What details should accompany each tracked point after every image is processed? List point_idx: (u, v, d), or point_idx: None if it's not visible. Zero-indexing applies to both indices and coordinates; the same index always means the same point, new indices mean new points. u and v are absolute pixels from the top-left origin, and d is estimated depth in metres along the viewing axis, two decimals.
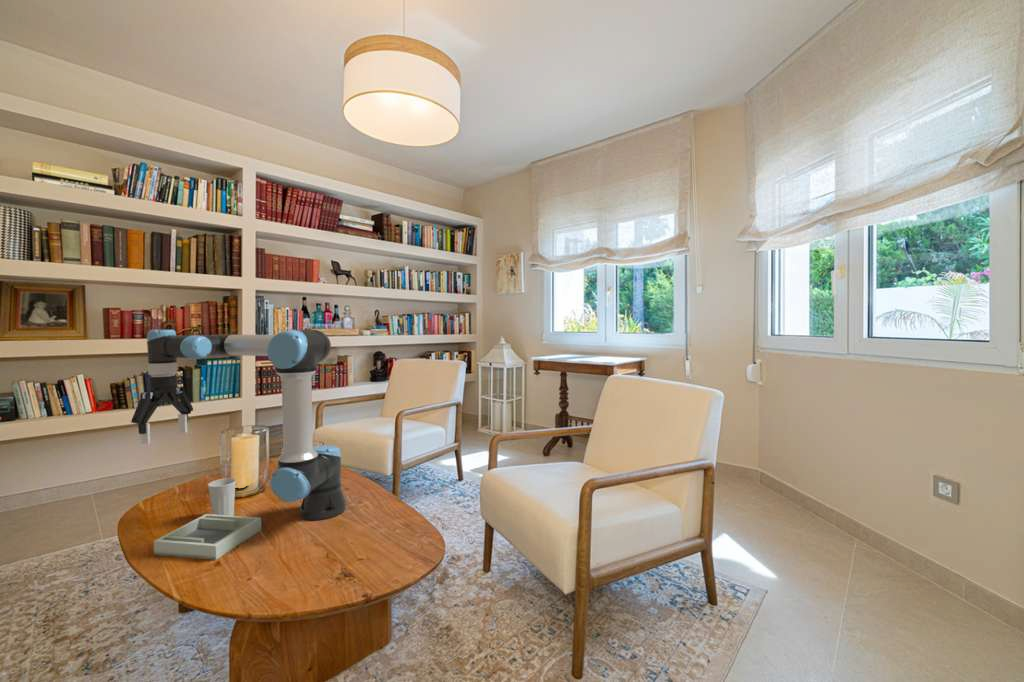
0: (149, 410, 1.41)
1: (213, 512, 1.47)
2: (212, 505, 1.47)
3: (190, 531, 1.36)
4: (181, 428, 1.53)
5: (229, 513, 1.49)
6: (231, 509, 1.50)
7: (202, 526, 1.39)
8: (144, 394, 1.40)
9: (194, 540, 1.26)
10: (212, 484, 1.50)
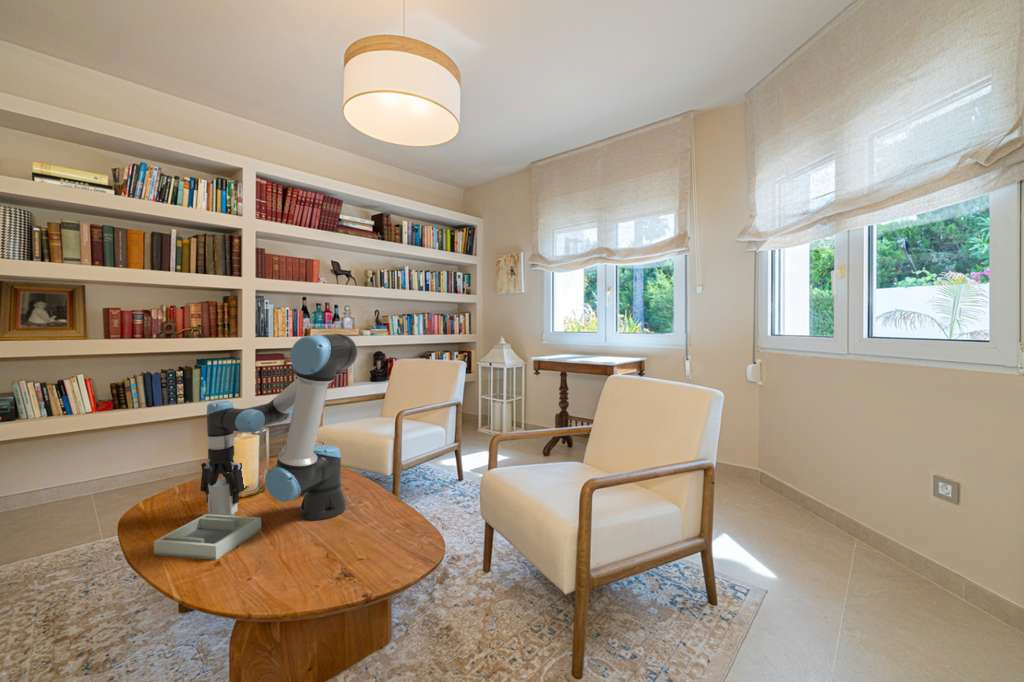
0: None
1: (213, 512, 1.47)
2: (212, 505, 1.47)
3: (190, 531, 1.36)
4: None
5: (229, 513, 1.49)
6: None
7: (202, 526, 1.39)
8: None
9: (194, 540, 1.26)
10: None
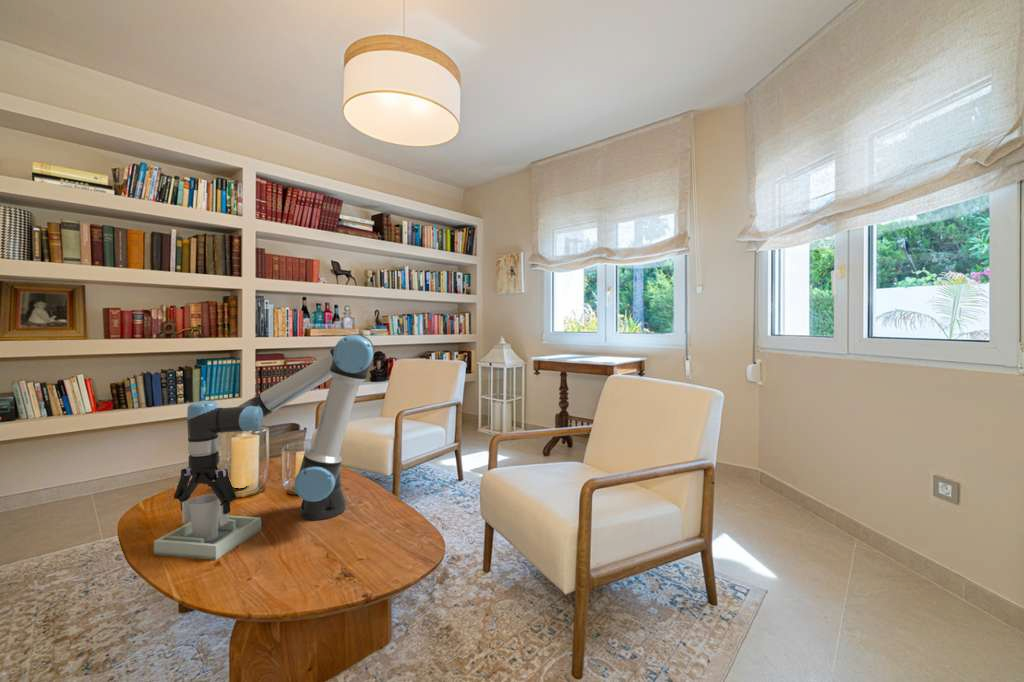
0: None
1: (194, 533, 1.30)
2: (193, 525, 1.30)
3: (190, 531, 1.36)
4: None
5: (212, 534, 1.32)
6: (215, 529, 1.33)
7: None
8: None
9: (194, 540, 1.26)
10: (193, 501, 1.33)
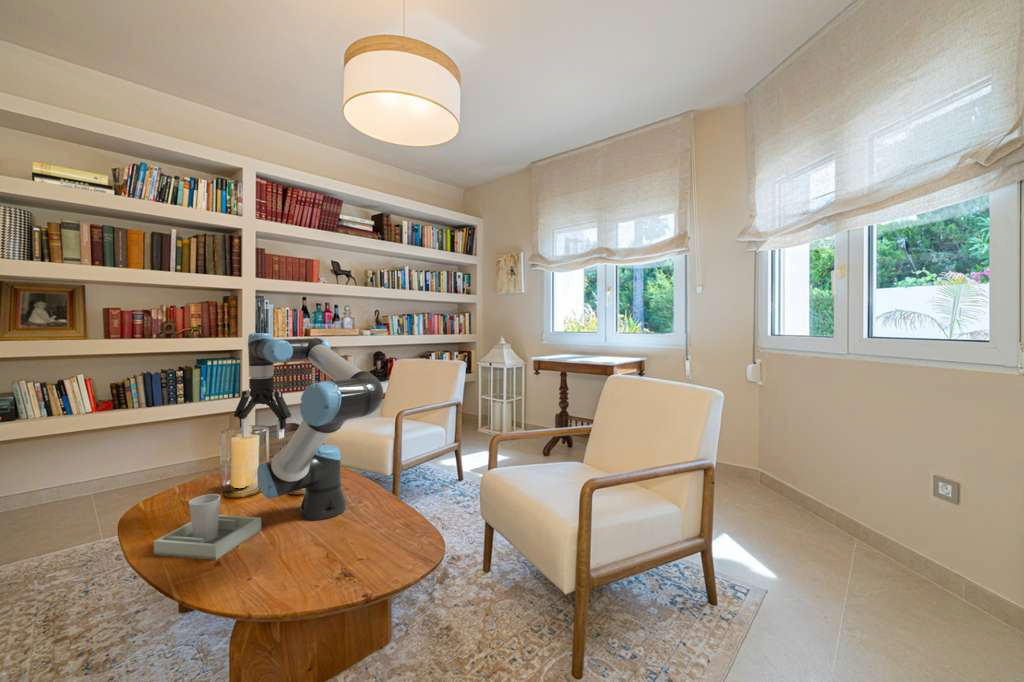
0: None
1: (194, 533, 1.30)
2: (193, 525, 1.30)
3: (190, 531, 1.36)
4: None
5: (212, 534, 1.32)
6: (215, 529, 1.33)
7: None
8: None
9: (194, 540, 1.26)
10: (193, 501, 1.33)
